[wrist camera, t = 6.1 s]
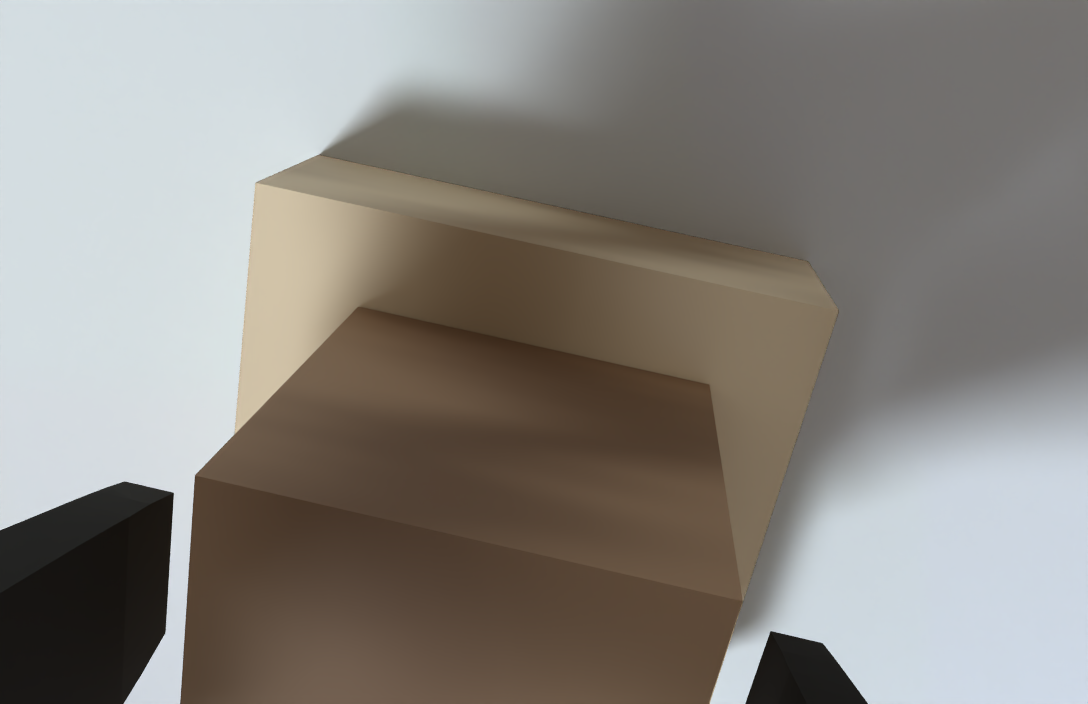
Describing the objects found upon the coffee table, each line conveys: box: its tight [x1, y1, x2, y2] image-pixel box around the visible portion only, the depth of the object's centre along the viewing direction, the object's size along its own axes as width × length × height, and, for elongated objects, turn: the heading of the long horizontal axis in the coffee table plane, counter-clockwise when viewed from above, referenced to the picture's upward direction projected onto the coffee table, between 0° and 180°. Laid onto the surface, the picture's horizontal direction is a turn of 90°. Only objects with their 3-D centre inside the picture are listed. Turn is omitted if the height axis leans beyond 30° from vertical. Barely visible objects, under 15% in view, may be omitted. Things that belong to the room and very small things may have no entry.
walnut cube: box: [180, 306, 743, 704], centre depth 11 cm, size 5×5×5 cm
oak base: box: [235, 155, 839, 704], centre depth 15 cm, size 8×8×3 cm
